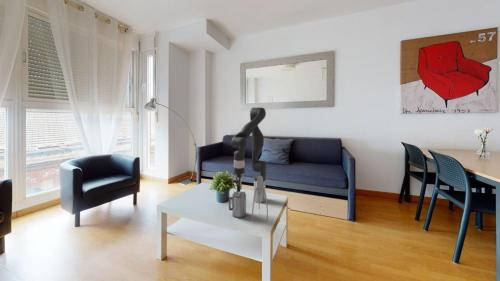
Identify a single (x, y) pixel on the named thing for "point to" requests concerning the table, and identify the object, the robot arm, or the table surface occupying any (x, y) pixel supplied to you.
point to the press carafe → (238, 204)
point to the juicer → (260, 186)
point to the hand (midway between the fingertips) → (239, 189)
